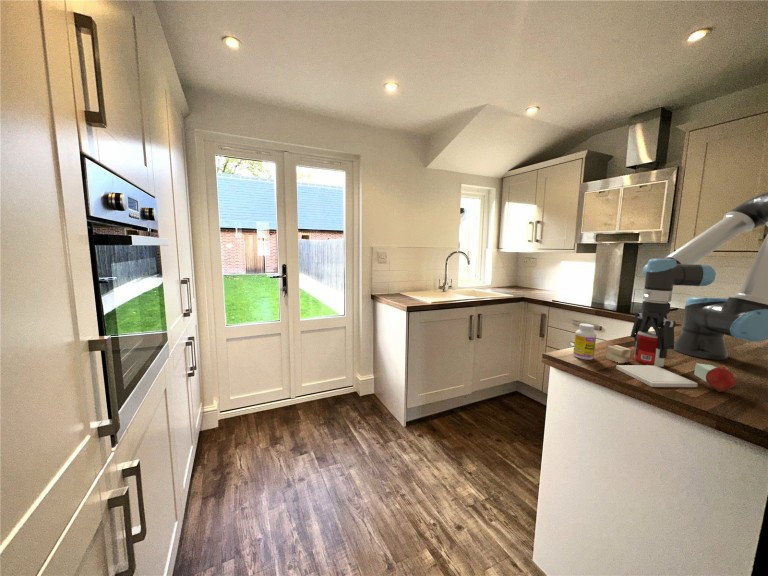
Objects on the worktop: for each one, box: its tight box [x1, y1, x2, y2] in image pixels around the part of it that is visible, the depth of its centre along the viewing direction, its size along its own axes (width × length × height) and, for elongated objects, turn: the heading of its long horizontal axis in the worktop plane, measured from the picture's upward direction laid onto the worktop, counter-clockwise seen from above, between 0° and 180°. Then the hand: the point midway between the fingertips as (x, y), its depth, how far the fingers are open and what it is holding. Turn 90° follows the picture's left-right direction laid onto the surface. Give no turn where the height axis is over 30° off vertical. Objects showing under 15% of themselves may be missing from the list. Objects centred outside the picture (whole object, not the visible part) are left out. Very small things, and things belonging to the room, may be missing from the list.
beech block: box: [605, 344, 632, 364], centre depth 112 cm, size 5×5×5 cm
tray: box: [615, 364, 699, 388], centre depth 97 cm, size 14×14×1 cm
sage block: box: [693, 363, 717, 383], centre depth 96 cm, size 4×6×4 cm, turn 159°
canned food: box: [634, 330, 664, 365], centre depth 110 cm, size 8×8×11 cm
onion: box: [706, 365, 737, 392], centre depth 88 cm, size 6×6×8 cm
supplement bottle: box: [572, 323, 597, 361], centre depth 114 cm, size 7×7×13 cm
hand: (648, 361), depth 110 cm, fingers closed on canned food, 8 cm apart
